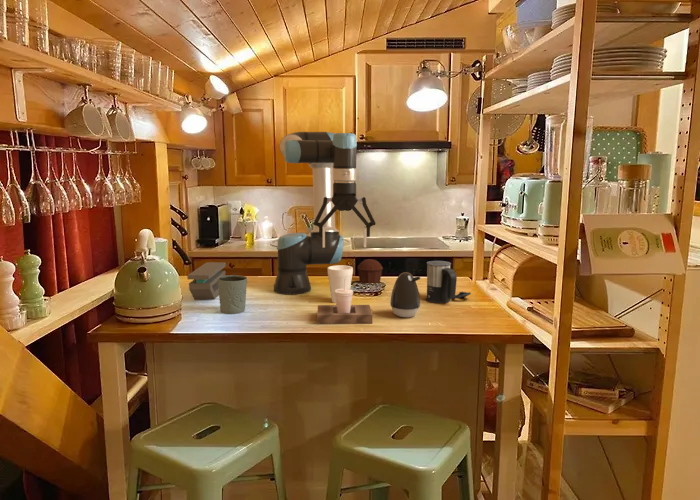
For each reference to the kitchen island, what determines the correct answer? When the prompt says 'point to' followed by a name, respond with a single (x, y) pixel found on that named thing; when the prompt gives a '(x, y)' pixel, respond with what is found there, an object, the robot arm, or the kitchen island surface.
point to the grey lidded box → (206, 280)
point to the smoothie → (343, 299)
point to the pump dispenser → (405, 296)
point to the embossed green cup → (232, 293)
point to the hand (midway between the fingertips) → (344, 246)
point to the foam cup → (339, 278)
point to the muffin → (370, 271)
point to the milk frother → (441, 282)
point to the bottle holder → (344, 315)
